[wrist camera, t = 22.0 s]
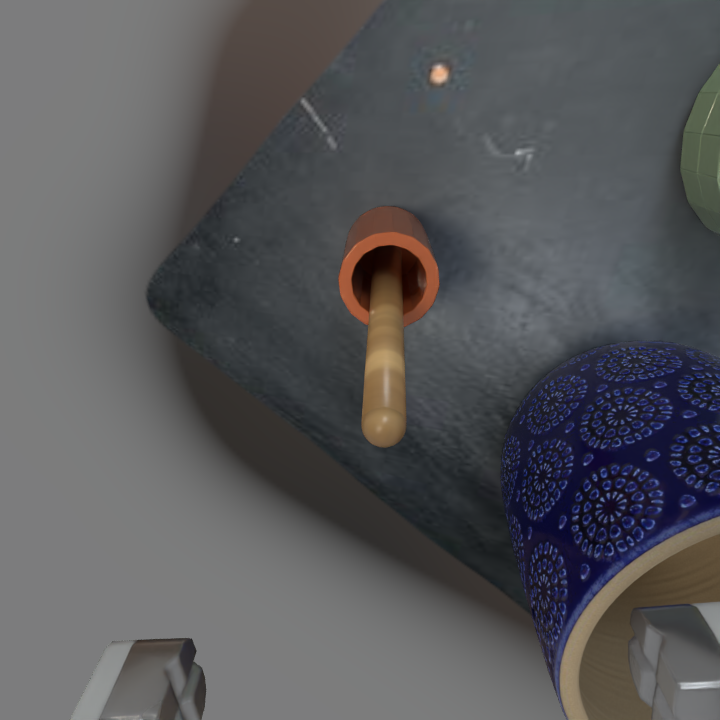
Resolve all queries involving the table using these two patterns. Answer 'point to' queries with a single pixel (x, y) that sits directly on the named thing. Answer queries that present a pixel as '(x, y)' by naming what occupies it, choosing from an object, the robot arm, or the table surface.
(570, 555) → the planter
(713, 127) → the bowl
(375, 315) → the stick
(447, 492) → the table surface
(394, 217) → the crock
